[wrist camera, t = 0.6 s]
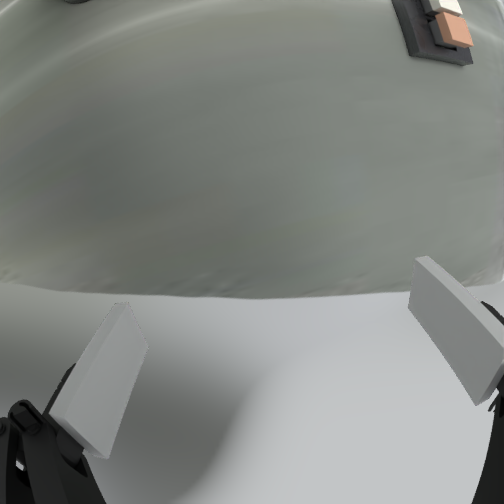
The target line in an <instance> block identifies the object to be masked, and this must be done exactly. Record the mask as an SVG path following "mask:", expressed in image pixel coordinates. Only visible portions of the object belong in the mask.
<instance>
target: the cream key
mask: <svg viewBox="0 0 504 504" xmlns="http://www.w3.org/2000/svg"><path fill="white" fill-rule="evenodd" d="M419 1H420V3H421V6H422V9H423V11H424V14H425V15H428V16H432V17H435V15H437V14H440V13H442V12H445V13H449V14H451V15H454V16H460V15H462V11H461V9H460V6H459V4H458V2H457V0H419Z"/></svg>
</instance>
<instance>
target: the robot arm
mask: <svg viewBox="0 0 504 504" xmlns="http://www.w3.org/2000/svg"><path fill="white" fill-rule="evenodd" d="M65 1H66V2H69V3H81V2H85V1H88V0H65ZM408 309H409V310H410V311H411V312H412V314H413V315H414V316H415V317H416V319H417V320H418V322H419V323H420V324H421V326H422V327H423V328H424V330H425V331H426V332H427V334H428V335H429V336H430V338H431V339H432V341H433V342H434V343H435V345H436V346H437V348H438V349H439V350H440V352H441V353H442V355H443V356H444V358H445V359H446V360H447V362H448V363H449V365H450V366H451V368H452V369H453V371H454V372H455V374H456V375H457V377H458V378H459V380H460V382H461V383H462V385H463V386H464V388H465V390H466V391H467V393H468V394H469V396H470V397H471V399H472V401H473V403H474V404H475V406H477V405H479V404H480V403H482V402H484V401H485V400H487V399H489V398H490V396H491V395H492V393H493V392H494V390H495V389H496V388H497V389H498V391H499V394H498V395H497V397H496V398H495V400H494V401H493V402H492V404H491V405H490V407H489V410H488V411H491V410H492V408H493V407H494V405H495V404H496V405H495V410H494V411H493V412H495V413H494V420H493V426H492V432H491V437H490V442H489V447H488V451H487V456H486V460H485V463H484V467H483V471H482V475H481V477H480V481H479V484H478V487H477V490H476V493H475V496H474V498H473V502H472V504H504V318H503V317H502V316H500V314H499V313H498V312H497V311H496V310H495V309H494V308H493V307H492V306H490V305H489V304H487V303H485V302H483V301H482V302H479V301H478V300H477V299H476V298H475V297H474V296H473V295H472V294H471V293H470V292H469V291H468V290H467V289H466V288H465V287H463V286H462V285H461V284H460V283H459V282H458V281H457V280H456V279H454V278H453V277H452V276H451V275H450V274H449V273H448V272H446V271H445V270H444V269H443V268H442V267H441V266H439V265H438V264H437V263H436V262H435V261H433V260H432V259H431V258H430V257H428V256H423V257H418V258H414V268H413V277H412V284H411V292H410V298H409V305H408ZM148 348H149V346H148V344H147V342H146V340H145V338H144V336H143V334H142V332H141V330H140V327H139V325H138V323H137V321H136V319H135V316H134V314H133V312H132V310H131V307H130V305H129V303H128V302H125V303H115V304H114V306H113V307H112V309H111V310H110V312H109V313H108V315H107V316H106V318H105V319H104V321H103V322H102V324H101V325H100V327H99V328H98V330H97V331H96V333H95V334H94V336H93V338H92V339H91V341H90V342H89V344H88V345H87V347H86V349H85V350H84V352H83V354H82V356H81V357H80V358H79V360H78V362H77V363H75V364H74V365H73V366H72V367H70V368H69V369H68V370H67V371H66V373H65V375H64V376H63V378H62V380H61V381H62V382H60V383H59V385H58V387H57V389H56V390H55V392H54V394H53V396H52V398H51V399H50V401H49V403H48V405H47V407H46V408H45V411H44V412H43V414H42V415H41V414H40V413H39V412H38V410H37V409H36V408H35V407H34V406H33V405H32V404H31V402H29V401H28V400H20V401H18V402H17V403H15V404H14V405H13V406H12V407H11V408H10V410H9V413H8V418H6V417H2V418H0V504H106V502H105V500H104V498H103V496H102V494H101V492H100V490H99V488H98V485H97V483H96V481H95V479H94V476H93V474H92V472H91V469H90V467H89V464H88V462H87V459H86V458H85V456H84V455H83V454H82V452H83V449H85V450H87V451H88V452H89V453H90V454H91V455H92V456H96V457H100V458H104V459H109V456H110V453H111V449H112V446H113V443H114V440H115V437H116V434H117V431H118V428H119V425H120V422H121V420H122V417H123V414H124V411H125V408H126V405H127V402H128V400H129V397H130V394H131V392H132V389H133V386H134V384H135V381H136V378H137V376H138V373H139V370H140V368H141V365H142V363H143V360H144V358H145V355H146V353H147V350H148ZM16 460H17V461H18V462H20V463H21V464H22V465H23V466H24V469H23V471H22V470H20V469H19V468H18V467H17V466H16Z"/></svg>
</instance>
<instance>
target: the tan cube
mask: <svg viewBox="0 0 504 504" xmlns="http://www.w3.org/2000/svg"><path fill="white" fill-rule="evenodd" d="M435 17H436V20H433V21H431V22H429V23H428V25H429V28H430V31H431V34H432V37H433V41H434V44H435V45H440V46H444V47H448V48H454V47H458V46H459V47H463V48H467V47H471V46H473V43H472V39H471V36H470V33H469V30H468V27H467V24H466V22H465V19H463V18H460V17H457V16H454V15H451V14H449V13H445V12H442V13H440V14H437V15H435Z"/></svg>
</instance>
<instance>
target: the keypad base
mask: <svg viewBox="0 0 504 504" xmlns="http://www.w3.org/2000/svg"><path fill="white" fill-rule="evenodd" d="M392 3H393V5H394V8H395V11H396V13H397V16H398V19H399V22H400V25H401V28H402V31H403V34H404V38H405V41H406V45H407V48H408V52H409V56H416V57H422V58H428V59H434V60H439V61H444V62H449V63H453V64H457V65H462V66H464V65H469V64H473V61H472V57H471V53H470V49H469V47H467V48H463V47H459V46H458V47H454V48H448V47H445V48H441V47H437V46H435V44H434V41H433V37H432V34H431V31H430V28H429V25H428V23H429V22H431V21H433V20H436V17H435V18H433V17H429V16H425V14H424V11H423V9H422V6H421V3H420V1H419V0H392ZM457 17H459V16H457Z"/></svg>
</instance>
